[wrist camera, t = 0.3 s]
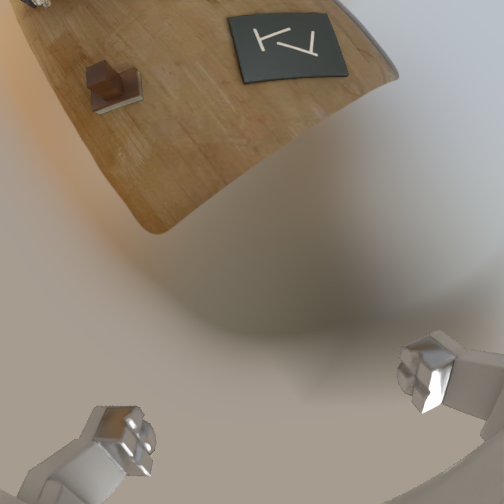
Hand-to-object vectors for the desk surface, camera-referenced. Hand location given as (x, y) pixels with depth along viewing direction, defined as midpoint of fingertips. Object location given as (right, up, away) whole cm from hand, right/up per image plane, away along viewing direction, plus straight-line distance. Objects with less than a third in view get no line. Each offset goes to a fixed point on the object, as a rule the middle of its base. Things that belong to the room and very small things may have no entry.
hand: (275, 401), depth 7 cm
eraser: (-22, +30, +29) cm, 47 cm away
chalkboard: (+5, +39, +30) cm, 50 cm away
